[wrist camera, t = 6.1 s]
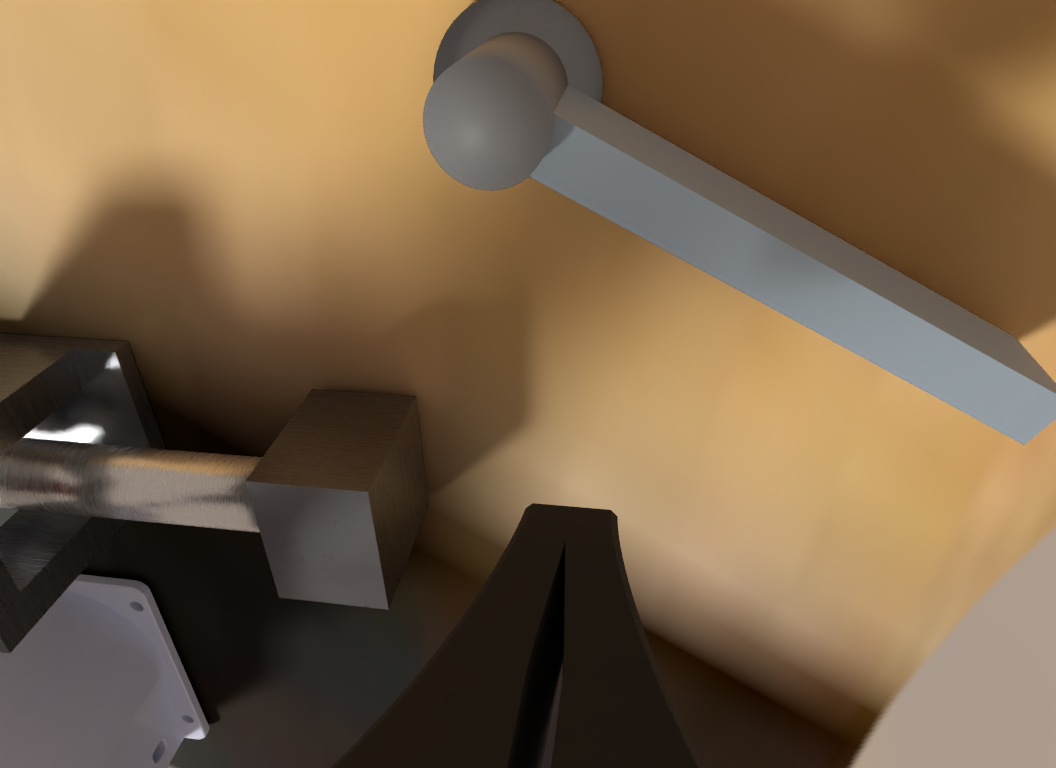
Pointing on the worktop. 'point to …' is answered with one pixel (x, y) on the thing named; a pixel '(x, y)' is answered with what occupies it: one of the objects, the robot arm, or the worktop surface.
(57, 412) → the eye bracket
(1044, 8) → the worktop surface
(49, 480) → the hook rod
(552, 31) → the base
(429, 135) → the grey lever bar
